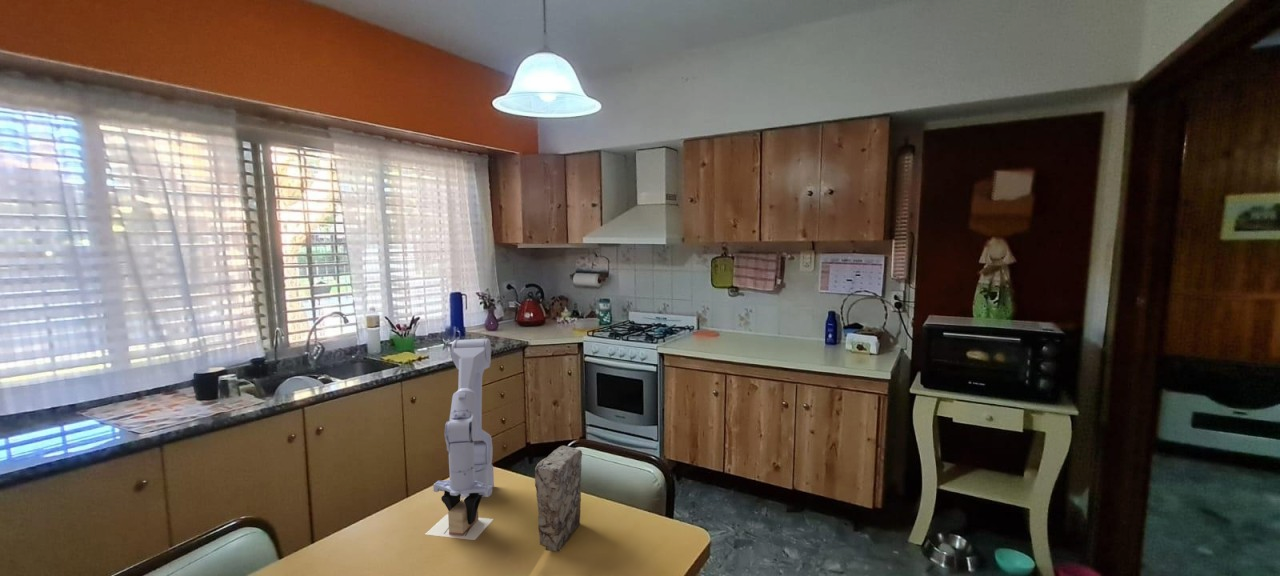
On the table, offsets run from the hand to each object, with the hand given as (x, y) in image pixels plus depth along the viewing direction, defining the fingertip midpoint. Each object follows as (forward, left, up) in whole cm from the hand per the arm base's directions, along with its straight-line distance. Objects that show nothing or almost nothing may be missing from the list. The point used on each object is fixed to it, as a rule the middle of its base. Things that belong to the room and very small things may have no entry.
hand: (463, 521), depth 117 cm
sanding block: (0, 0, -1) cm, 1 cm away
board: (0, -1, -3) cm, 3 cm away
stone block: (-3, +24, -3) cm, 24 cm away
